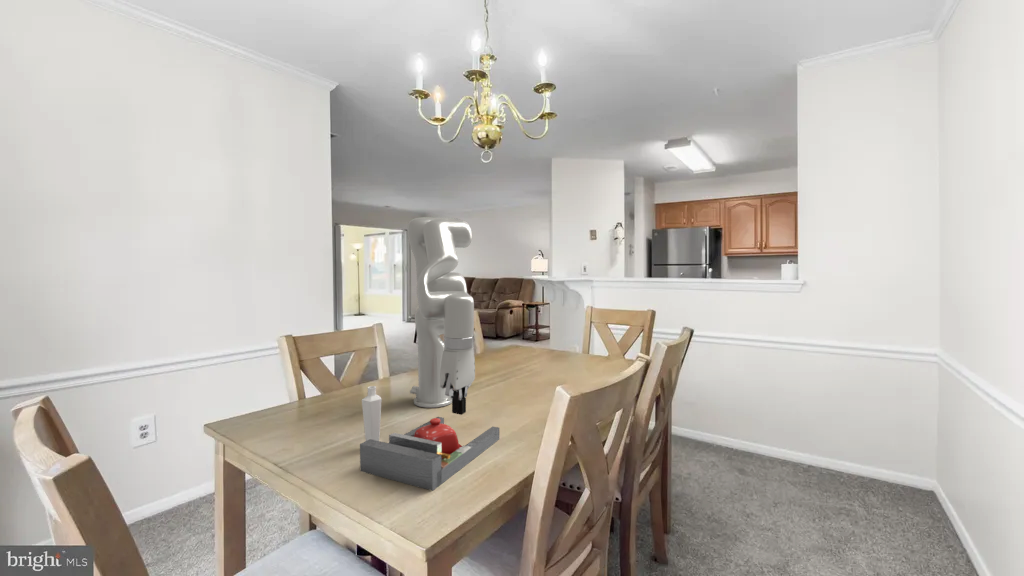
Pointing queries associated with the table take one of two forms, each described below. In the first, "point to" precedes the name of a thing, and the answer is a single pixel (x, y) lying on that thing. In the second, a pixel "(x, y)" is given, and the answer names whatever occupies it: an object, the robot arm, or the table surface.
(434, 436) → the butter dish
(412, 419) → the table surface
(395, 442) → the brushed metal plate
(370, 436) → the perfume bottle
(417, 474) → the grey open box
